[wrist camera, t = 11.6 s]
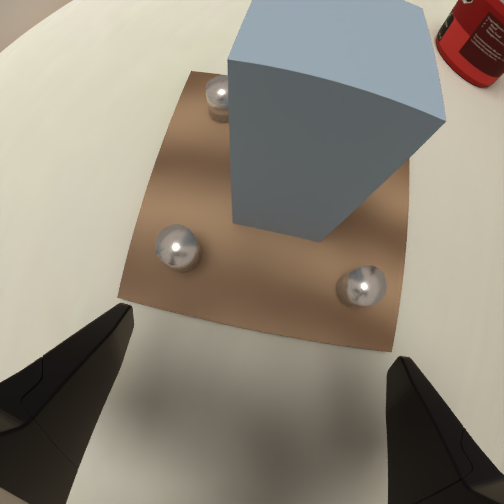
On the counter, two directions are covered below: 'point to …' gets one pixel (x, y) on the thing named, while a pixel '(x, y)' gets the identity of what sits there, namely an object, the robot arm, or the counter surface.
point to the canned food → (474, 40)
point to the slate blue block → (325, 108)
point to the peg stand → (259, 244)
